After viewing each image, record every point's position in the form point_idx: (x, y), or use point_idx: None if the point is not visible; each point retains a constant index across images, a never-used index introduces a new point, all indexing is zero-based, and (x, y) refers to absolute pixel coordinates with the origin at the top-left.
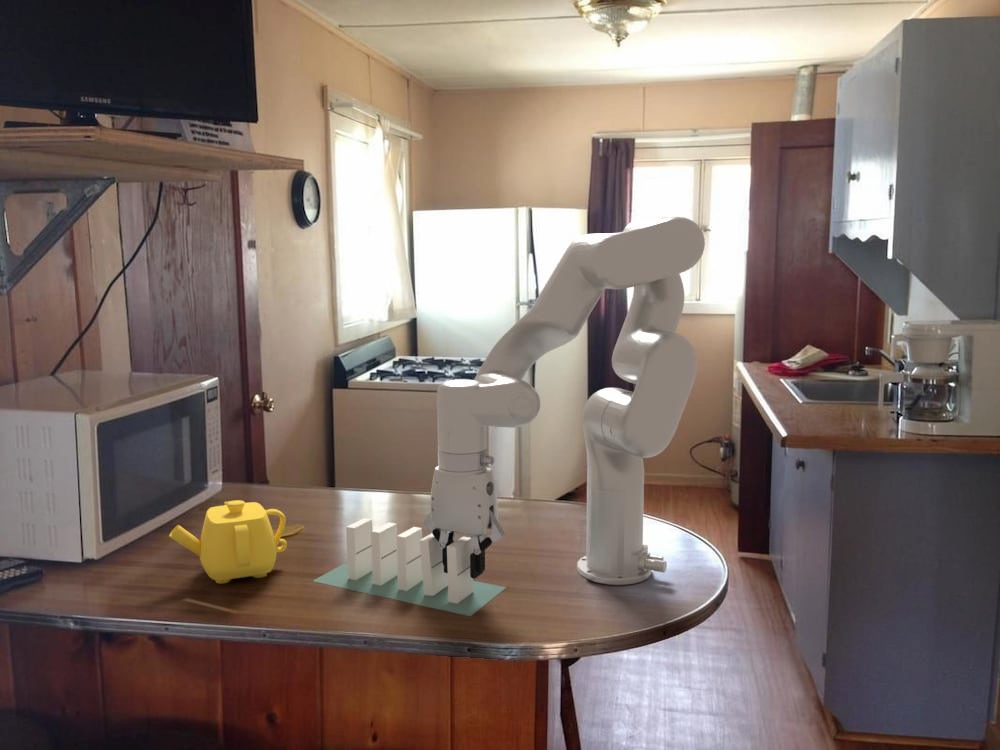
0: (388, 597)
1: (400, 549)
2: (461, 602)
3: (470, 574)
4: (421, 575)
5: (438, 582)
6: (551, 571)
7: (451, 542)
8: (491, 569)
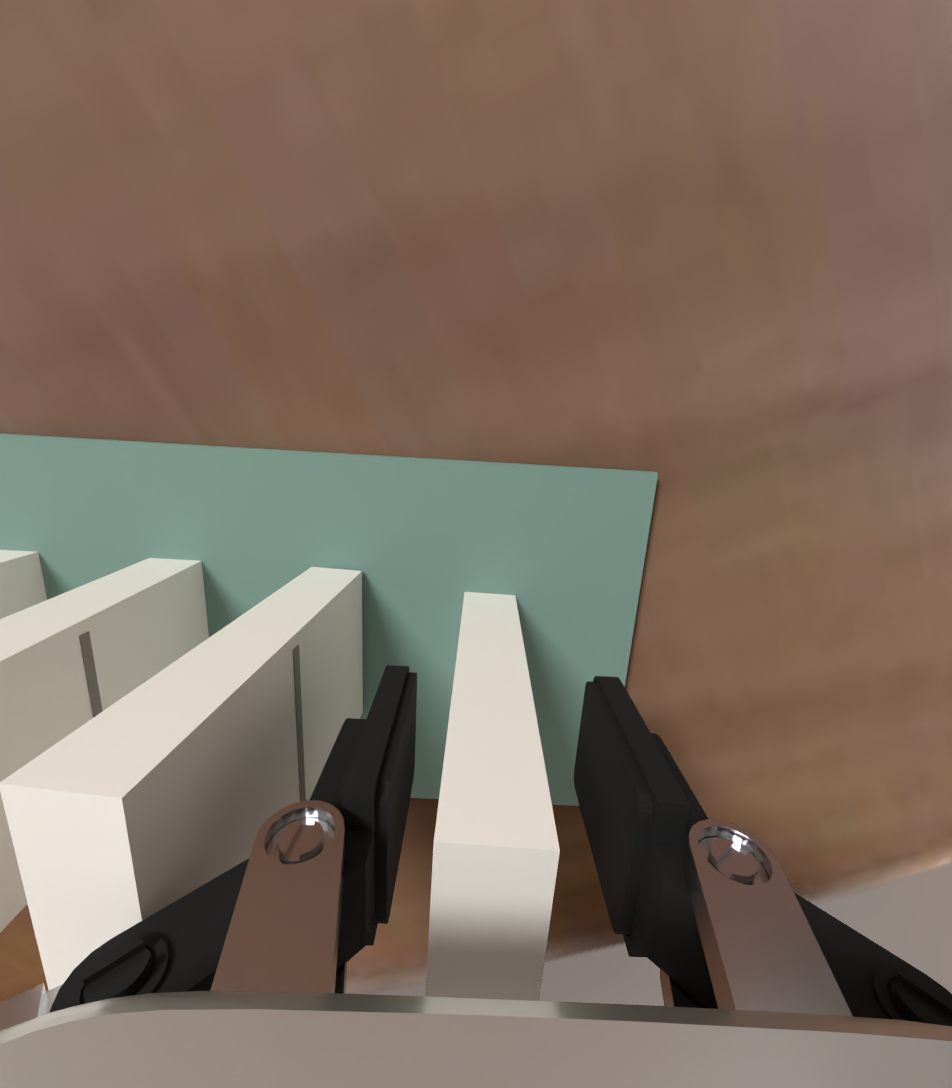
0: None
1: None
2: None
3: (577, 795)
4: (183, 587)
5: (346, 688)
6: (852, 57)
7: (360, 902)
8: (458, 205)
